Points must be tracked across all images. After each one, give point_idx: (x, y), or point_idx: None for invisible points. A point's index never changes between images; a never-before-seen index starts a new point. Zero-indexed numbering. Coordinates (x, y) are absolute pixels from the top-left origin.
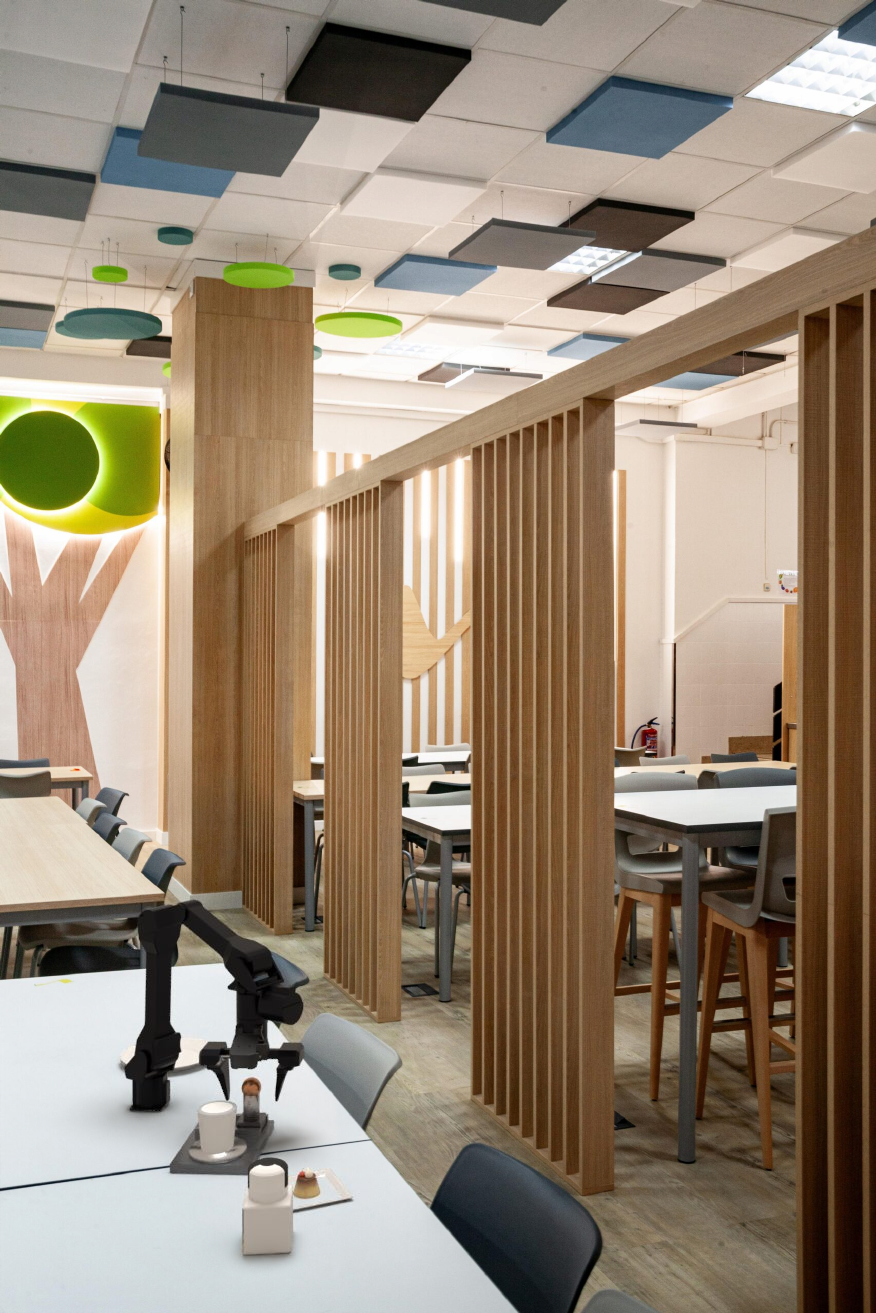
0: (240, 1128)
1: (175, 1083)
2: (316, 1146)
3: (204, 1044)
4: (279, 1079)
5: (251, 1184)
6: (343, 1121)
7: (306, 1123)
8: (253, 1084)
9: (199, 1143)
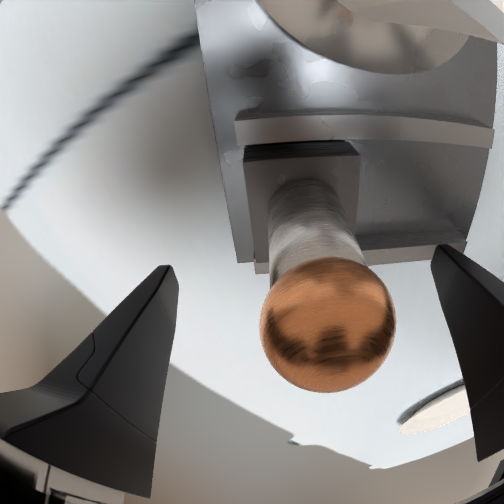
0: (333, 130)
1: (460, 369)
2: (56, 147)
3: (410, 429)
4: (83, 364)
5: None
6: (88, 296)
7: None
8: (307, 329)
9: None
